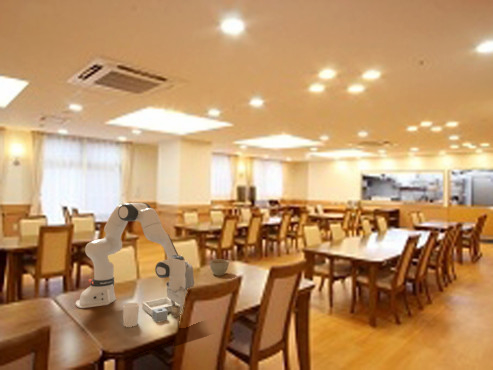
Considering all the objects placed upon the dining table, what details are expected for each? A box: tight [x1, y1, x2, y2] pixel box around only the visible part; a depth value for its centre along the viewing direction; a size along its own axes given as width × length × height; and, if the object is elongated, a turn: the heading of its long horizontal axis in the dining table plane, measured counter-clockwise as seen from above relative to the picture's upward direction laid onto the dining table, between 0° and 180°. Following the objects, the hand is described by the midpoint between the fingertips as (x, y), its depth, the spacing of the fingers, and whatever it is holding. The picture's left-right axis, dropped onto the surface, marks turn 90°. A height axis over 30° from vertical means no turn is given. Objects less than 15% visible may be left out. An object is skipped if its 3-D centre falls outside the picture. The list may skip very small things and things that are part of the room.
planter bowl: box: [209, 258, 230, 276], centre depth 268 cm, size 16×16×11 cm
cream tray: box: [142, 296, 178, 317], centre depth 187 cm, size 15×15×4 cm
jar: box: [180, 253, 195, 291], centre depth 225 cm, size 19×15×25 cm
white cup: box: [122, 302, 140, 328], centre depth 166 cm, size 8×8×10 cm
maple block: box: [170, 304, 181, 318], centre depth 179 cm, size 4×4×5 cm
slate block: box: [151, 307, 168, 323], centre depth 173 cm, size 6×6×5 cm
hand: (177, 309), depth 179 cm, fingers open, 8 cm apart
